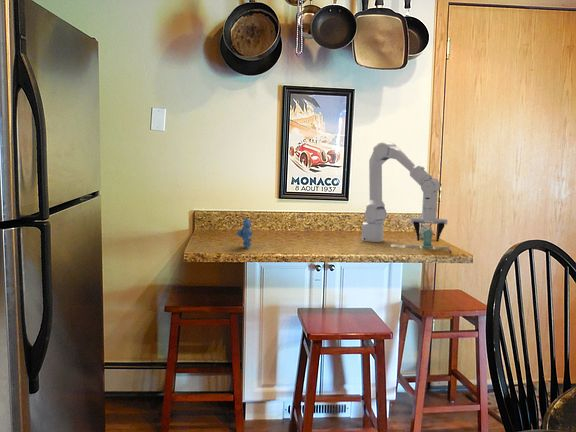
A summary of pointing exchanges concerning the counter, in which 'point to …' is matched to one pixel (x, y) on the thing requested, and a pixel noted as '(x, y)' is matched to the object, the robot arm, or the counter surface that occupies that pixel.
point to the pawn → (427, 239)
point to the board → (421, 247)
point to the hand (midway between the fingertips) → (427, 240)
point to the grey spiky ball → (423, 228)
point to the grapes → (245, 233)
